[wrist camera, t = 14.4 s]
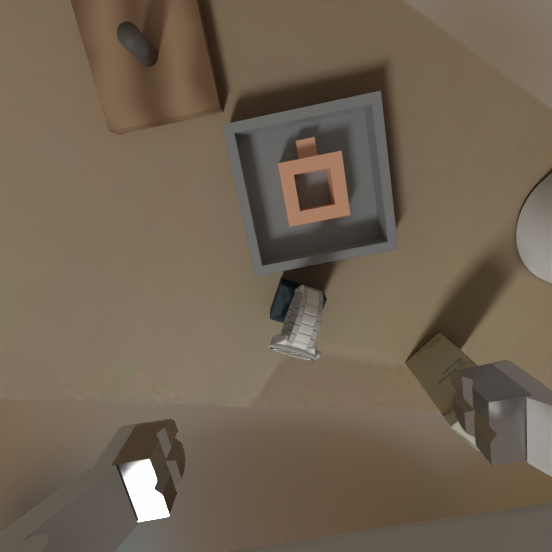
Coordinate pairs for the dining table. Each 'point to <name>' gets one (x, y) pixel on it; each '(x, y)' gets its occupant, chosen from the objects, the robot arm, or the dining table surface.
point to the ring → (307, 164)
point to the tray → (314, 183)
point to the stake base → (149, 85)
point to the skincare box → (441, 376)
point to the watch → (297, 319)
